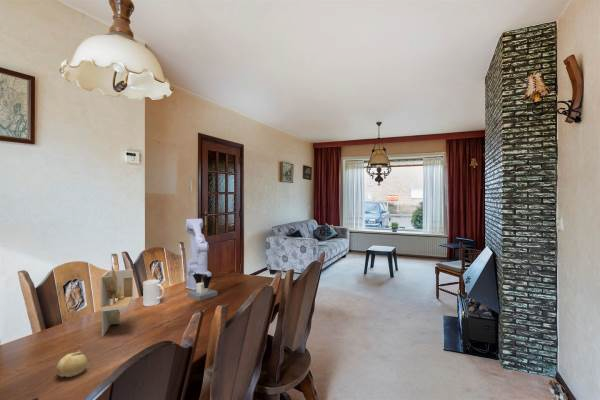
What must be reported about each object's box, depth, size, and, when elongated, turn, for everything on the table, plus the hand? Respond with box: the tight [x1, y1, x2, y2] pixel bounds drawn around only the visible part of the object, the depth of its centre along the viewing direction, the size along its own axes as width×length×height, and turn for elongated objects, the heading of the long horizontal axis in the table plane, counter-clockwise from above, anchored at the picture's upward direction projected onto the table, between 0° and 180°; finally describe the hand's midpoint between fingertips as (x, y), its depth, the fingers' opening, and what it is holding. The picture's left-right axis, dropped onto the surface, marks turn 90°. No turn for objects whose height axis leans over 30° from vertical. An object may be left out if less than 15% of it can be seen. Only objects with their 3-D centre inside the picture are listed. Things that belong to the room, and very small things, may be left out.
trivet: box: [187, 288, 218, 301], centre depth 179 cm, size 12×12×2 cm
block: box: [196, 281, 209, 294], centre depth 178 cm, size 4×4×5 cm
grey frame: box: [100, 265, 134, 337], centre depth 132 cm, size 10×16×29 cm, turn 20°
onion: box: [55, 350, 88, 378], centre depth 98 cm, size 8×8×7 cm
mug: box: [142, 279, 165, 307], centre depth 165 cm, size 12×8×12 cm
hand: (202, 287), depth 179 cm, fingers open, 7 cm apart
